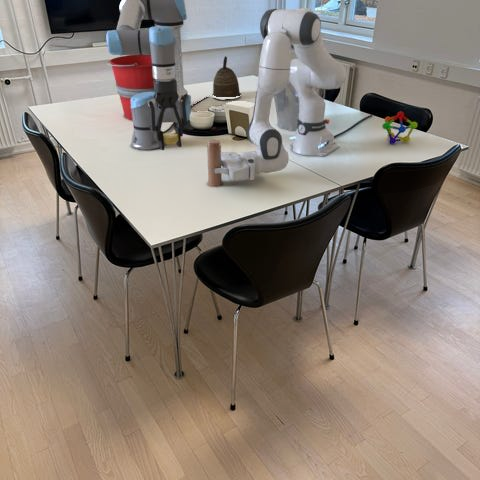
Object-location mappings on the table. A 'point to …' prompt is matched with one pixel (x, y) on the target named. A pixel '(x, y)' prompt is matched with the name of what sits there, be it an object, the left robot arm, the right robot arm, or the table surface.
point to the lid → (170, 138)
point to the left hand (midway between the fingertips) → (170, 147)
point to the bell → (225, 82)
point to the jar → (214, 162)
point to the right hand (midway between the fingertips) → (212, 167)
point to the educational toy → (398, 128)
